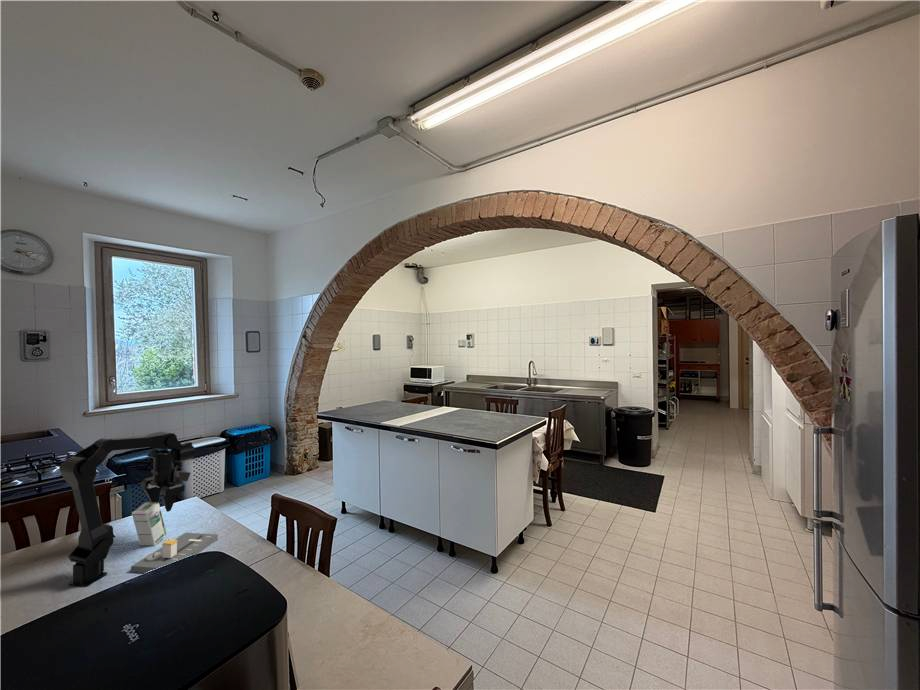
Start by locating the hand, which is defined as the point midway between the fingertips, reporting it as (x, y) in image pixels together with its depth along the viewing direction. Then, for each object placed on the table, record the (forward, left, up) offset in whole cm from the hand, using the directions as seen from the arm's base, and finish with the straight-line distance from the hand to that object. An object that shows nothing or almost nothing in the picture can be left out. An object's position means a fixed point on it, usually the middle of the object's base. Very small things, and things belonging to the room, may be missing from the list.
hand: (162, 508), depth 139 cm
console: (-5, -11, -14) cm, 18 cm away
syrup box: (+2, +5, -13) cm, 14 cm away
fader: (-10, -13, -11) cm, 20 cm away
